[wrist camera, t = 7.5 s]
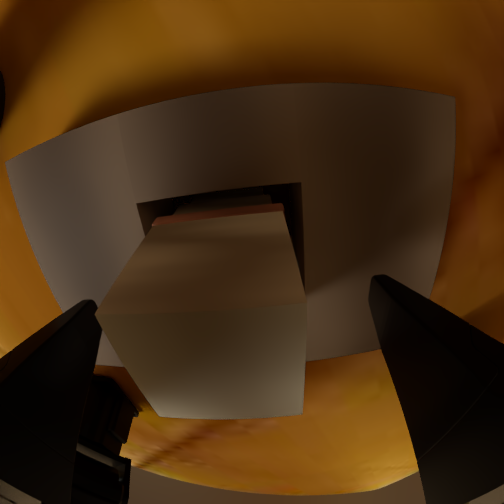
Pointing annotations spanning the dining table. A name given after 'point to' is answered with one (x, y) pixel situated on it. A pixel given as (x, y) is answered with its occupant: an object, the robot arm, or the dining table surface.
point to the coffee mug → (2, 97)
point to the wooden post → (213, 311)
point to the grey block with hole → (249, 175)
